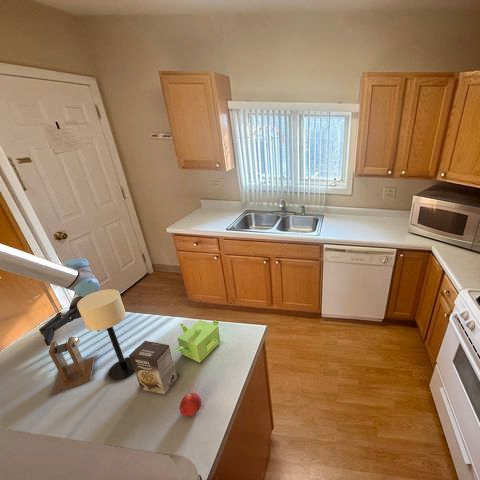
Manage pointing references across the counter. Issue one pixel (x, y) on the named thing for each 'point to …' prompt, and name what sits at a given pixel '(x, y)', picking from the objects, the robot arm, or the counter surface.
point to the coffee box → (153, 366)
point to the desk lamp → (107, 324)
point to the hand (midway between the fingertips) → (73, 335)
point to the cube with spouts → (198, 340)
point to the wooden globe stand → (71, 367)
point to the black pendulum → (63, 348)
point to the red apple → (190, 404)
